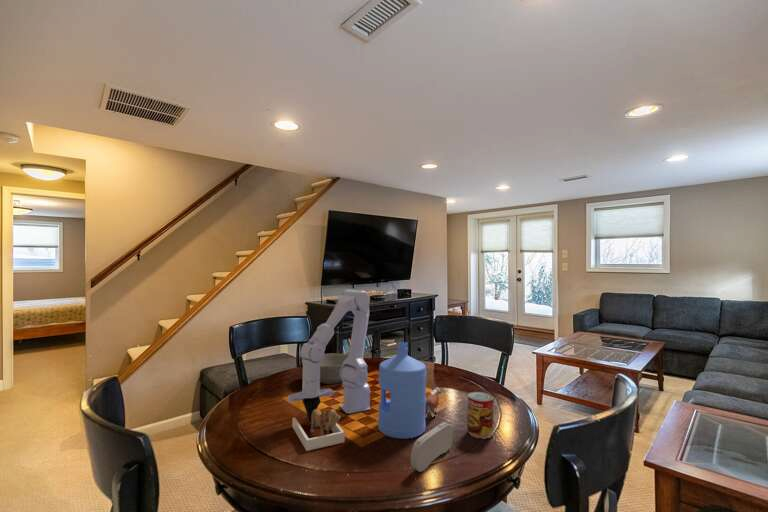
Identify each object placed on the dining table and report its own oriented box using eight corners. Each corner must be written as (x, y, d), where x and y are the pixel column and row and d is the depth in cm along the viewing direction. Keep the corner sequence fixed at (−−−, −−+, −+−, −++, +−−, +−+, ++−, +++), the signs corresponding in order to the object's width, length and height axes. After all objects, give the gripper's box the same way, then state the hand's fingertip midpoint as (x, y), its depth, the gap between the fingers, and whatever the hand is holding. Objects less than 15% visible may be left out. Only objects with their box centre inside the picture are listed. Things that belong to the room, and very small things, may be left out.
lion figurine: (342, 438, 111) (343, 409, 111) (329, 444, 107) (329, 414, 107) (313, 423, 121) (313, 396, 121) (299, 429, 117) (300, 401, 117)
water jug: (427, 421, 124) (429, 339, 125) (422, 443, 109) (423, 350, 110) (383, 416, 128) (385, 337, 128) (372, 436, 112) (374, 346, 113)
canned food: (462, 430, 118) (463, 393, 118) (482, 426, 121) (482, 390, 121) (477, 441, 111) (477, 402, 111) (498, 437, 114) (498, 398, 114)
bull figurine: (443, 408, 135) (443, 386, 136) (433, 422, 123) (433, 398, 123) (432, 406, 137) (432, 385, 137) (420, 420, 125) (421, 396, 125)
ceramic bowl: (294, 382, 162) (295, 360, 162) (330, 370, 180) (330, 350, 181) (331, 393, 149) (331, 369, 149) (365, 379, 168) (365, 358, 168)
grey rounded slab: (446, 445, 108) (446, 417, 108) (453, 448, 107) (453, 419, 107) (409, 474, 93) (409, 441, 93) (416, 477, 91) (417, 444, 92)
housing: (326, 420, 124) (326, 411, 124) (344, 442, 109) (344, 432, 109) (292, 427, 118) (292, 417, 118) (306, 451, 103) (306, 440, 103)
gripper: (328, 373, 128) (327, 411, 127) (286, 378, 121) (285, 419, 120) (334, 378, 121) (334, 419, 121) (291, 385, 115) (290, 428, 114)
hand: (310, 420), depth 120 cm, fingers closed
